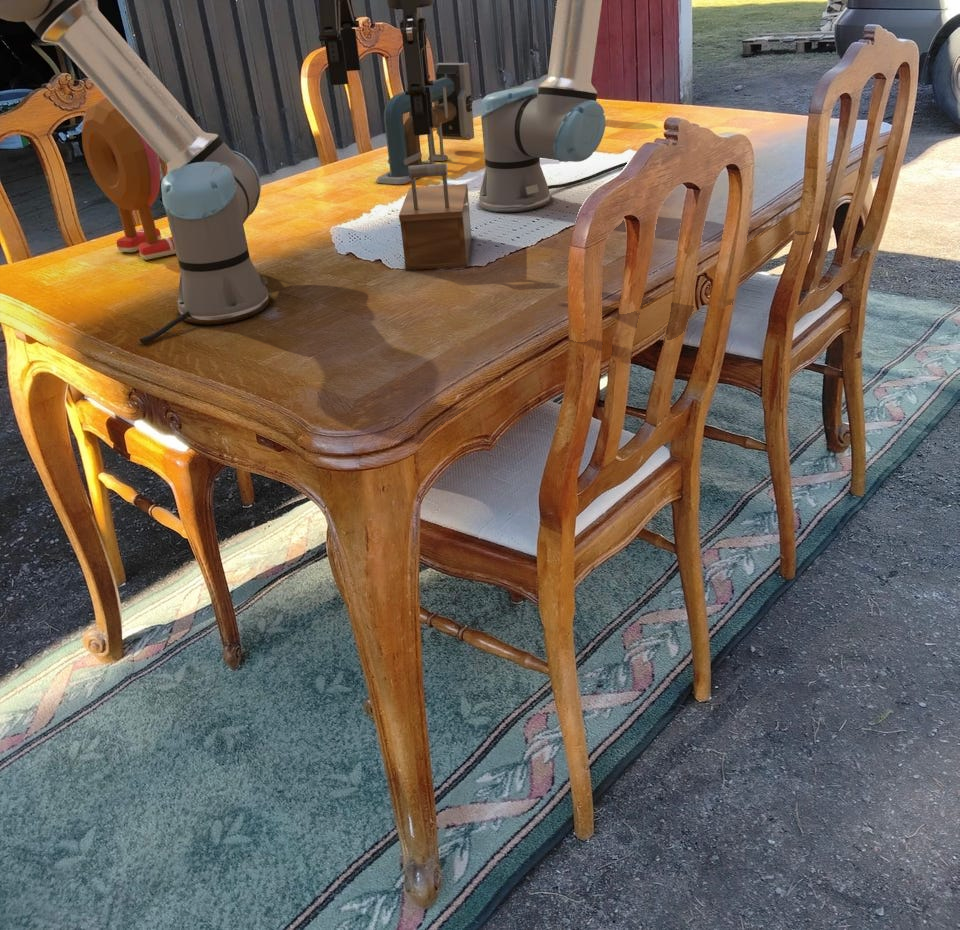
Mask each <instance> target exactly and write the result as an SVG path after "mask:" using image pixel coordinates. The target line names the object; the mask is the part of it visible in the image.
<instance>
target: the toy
mask: <svg viewBox="0 0 960 930" xmlns="http://www.w3.org/2000/svg"><path fill="white" fill-rule="evenodd" d="M81 141H82V142H81V143H82V150H83V153H84V157H85V161H86V165H87V167H88V169H89V172H90V174H91V176H92V178H93V179H94V182H95V183H96V184H97V186H98V187H99V188H100V190H101V191H102V192H103V194H104V195H105V196H106V197H107V198H108V199H109V200H110V201H111V202H112V203H113V204H114V205H116V206H117V210H118V213H119V217H120V221H121V225H122V230H123V233H124V236H122V237H120V238H118V239H116V243H115V244H116V247H117V250H118V252H121V253H135V252H139V256H140V257H141V259H143V260H152V259H158V258H162V257H167V256H172V255H176V251H175V247H174V243H173V238H172V236H170V237H165V238H162V234H161V231H160V229H159V228H158V227H156V224H155V219H154V215H153V211H152V208H151V207H152V205H154V203H155V202H156V200H157V198H158V195H159V193H160V190H161V166H160V165H161V164H160V160H159V159H160V158H159V156H158V155H157V154H156V153H155V151H154V150H153V149H152V148H151V147H150V146H149V145H148V144H147V143H146V141H145V140H144V139H143V138H142V137H141V136H140V135H139V134H138V133H137V131H136V130H135V129H134V128H133V127H132V126H131V125H130V124H129V122H128V121H127V120H126V119H125V118H124V117H123V116H122V115H121V114H120V112H119V111H118V110H117V109H116V108H115V107H114V106H113V105H112V104H111V102H110V101H109V100H108V99H107V98H106V97H104V98H102V99H100V100H98V101H95V103H92V104H91V105H89V106H88V107H86V110H85V113H84V116H83V119H82V124H81ZM132 211H133V212H134V211H138V214H139V219H140V222H141V226H142V228H139V229H136V225H135V220H134V215H133V212H132Z"/></svg>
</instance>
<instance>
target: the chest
mask: <svg viewBox="0 0 960 930" xmlns="http://www.w3.org/2000/svg"><path fill="white" fill-rule="evenodd" d="M399 224H400V231H401V232H400V233H401V240H402V241H401V242H402V250H403V258H404V265H405V266H404V267H405V271H415V270H433V269H451V268H465V267H467V268H468V263H469V257H470V256H469V255H470V250H471V243H472V227H471V226H472V225H471V213H470V200H469V190H468V191H467V196H466V201H465V207H464V212H463V217H462V218H446V219H430V220H414V221H399Z"/></svg>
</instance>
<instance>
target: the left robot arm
mask: <svg viewBox="0 0 960 930" xmlns="http://www.w3.org/2000/svg"><path fill="white" fill-rule="evenodd" d="M98 2H99V1H98V0H0V19H1V20H5V21H7V22H15V23H21V22H24V23H25V24H27V26H28V27H29V28H30V29H31V30H32V32H33V33H35V34H36V35H37V36H38V38H39V39H40V40H41V41H42V42H44V43H50V44H55V45H58V46H59V47H60V48H61V49H62V50H63V51H64V53H65V54H66V55H67V56H68V57H69V58H70V60H72V62H73V63H75V65H76V66H77V67H78V68H79V69H80V70H81V72H83V74H84V75H85V76H86V77H87V78H88V80H90V81H91V83H92V84H93V85H94V86H95V87H96V88H97V90H99V92H101V94H102V95H103V96H104V98H107V99H108V100H109V101H110V102H111V104H112V105H113V106H114V107H115V108H116V109H117V110H118V111H119V112H120V114H121V115H122V116H123V117H124V118H125V119H126V120H127V121H128V122H129V124H130V125H131V126H132V127H133V128H134V129H135V130H136V131H137V133H138V134H139V135H140V136H141V137H142V138H143V139H144V140H145V141H146V143H147V144H148V145H149V146H150V147H151V148H152V149H153V150H154V151H155V153H156V154H157V155H158V158H159V159H161V161H162V162H163V163H164V164H165V166H166V175H165V176H164V177H163V178H162V180H161V182H160V190H161V199H162V206H163V208H164V210H165V214H166V218H167V221H168V226H169V230H170V234H171V237H172V238H173V243H174V247H175V251H176V254H175V255H176V258H177V262H178V266H179V283H178V294H177V310H178V314H179V315H178V316H177V317H175V318H174V319H172V320H171V321H169V322H168V323H166V324H165V325H164V326H163V327H161V328H160V329H158V330H156V331H155V332H153V333H151V334H149V335H146V336H144V337H141V338H139V342H140V343H141V344H146V343H148V342H151V341H153V340H155V339H157V338H159V337H160V336H162V335H164V334H165V333H166V332H168V331H169V330H171V329H172V328H173V327H175V326H176V325H178V324H179V323H181V322H182V321H184V322H186V323H189V324H193V325H202V326H203V325H204V326H205V325H206V326H210V325H222V324H230V323H233V322H239V321H241V320H245V319H248V318H251V317H253V316H256V315H258V314H260V312H263V311H264V310H265V309H266V308H267V307H268V306H269V305H270V296H269V291H268V290H267V287H266V285H269V283H268V277H267V276H266V277H265V276H262V275H260V274H259V272H258V270H257V269H256V267H255V265H254V264H253V262H252V260H251V257H250V251H249V246H248V241H247V236H246V232H245V227H244V224H245V222H246V221H247V220H248V218H249V217H250V216H251V215H252V214H253V213H254V212H255V210H256V208H257V206H258V205H259V200H260V196H261V191H262V184H261V178H260V175H259V172H258V170H257V167H256V166H255V165H254V163H253V162H252V161H251V160H250V159H249V158H248V157H247V156H245V155H244V154H242V153H240V152H238V151H236V150H232V149H231V148H230V147H229V145H227V144H226V142H225V141H224V140H223V139H222V138H221V137H220V136H219V134H218V133H211V132H205V131H204V130H203V129H202V127H200V126H199V124H198V123H196V121H195V120H194V119H193V118H192V116H191V115H190V114H189V113H188V111H187V110H185V109H184V107H183V106H182V105H181V104H180V102H178V100H177V99H176V98H175V97H174V96H173V95H172V93H171V92H170V91H169V90H168V89H167V88H166V86H165V85H164V84H163V83H162V81H161V80H159V78H158V77H157V75H155V73H153V71H152V70H151V69H150V67H148V65H147V64H146V63H145V61H143V60H142V59H141V57H140V56H139V55H138V54H137V53H136V51H134V49H133V48H132V47H131V46H130V45H129V43H128V42H127V41H126V40H125V39H124V38H123V37H122V35H121V34H120V33H119V32H118V31H117V29H115V27H114V26H113V25H112V24H111V23H110V22H109V20H108V19H107V18H106V17H105V16H104V14H102V12H101V11H100V10H99V3H98ZM318 8H319V22H320V23H319V24H320V25H319V27H320V34H318V41H319V42H324V46H325V52H326V60H327V61H326V62H327V67H328V73H329V81H330V86H340V85H341V86H343V85H349V77H348V72H357V71H361V63H360V53H359V46H358V40H357V31H356V28H360V20H357V16H356V13H355V6H354V2H353V0H318Z"/></svg>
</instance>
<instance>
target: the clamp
mask: <svg viewBox="0 0 960 930" xmlns="http://www.w3.org/2000/svg"><path fill="white" fill-rule="evenodd" d="M433 68H434V77H435V80H433V86H426V87H429V88H430V98H431V108H432V119H433V127H430V134H429V135H426V136H427V147H428V155H429V156H428V157H427V161H426V160H422V158H423V156H422V155H423V154H422V149H421V139H420V135H415V136H414V129H413V120H412V110H411V101H410V95H405V91H402V92H399V93H397V94H394V95H393V96H392V97H391V98H390V99H389V100H388V102H387V104H386V105H385V107H384V112H383V123H384V132H385V139H386V147H387V156H388V159H387V163H388V165H389V171H388V172H386V173H384V174H381V175H379V176H377V178H376V181H375V182H376V183H377V184H387V185H388V184H389V185H406V184H408V183H411V178H410V177H409V166H413V165H428V164H437V163H436V162H445V161H447V160H448V159H449V156H448V155H447V154H445V151H444V140H451V141H452V140H453V141H470V140H473V139H474V138H475V128H474V114H473V113H474V112H473V101H472V99H473V98H472V88H471V87H472V86H471V74H470V63H469V62H438V63H435V64H434V65H433ZM404 114H405V115H406V114H408V117H407V118H406V119H405V121H404ZM434 129H435V130H436V135H437V136H438V140H439V153H440V154H438V153H436V147H435V139H434ZM435 161H436V162H435ZM416 179H419V177H416V178H415V180H416Z"/></svg>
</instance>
